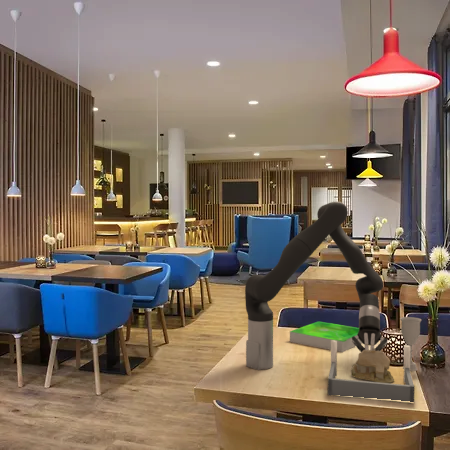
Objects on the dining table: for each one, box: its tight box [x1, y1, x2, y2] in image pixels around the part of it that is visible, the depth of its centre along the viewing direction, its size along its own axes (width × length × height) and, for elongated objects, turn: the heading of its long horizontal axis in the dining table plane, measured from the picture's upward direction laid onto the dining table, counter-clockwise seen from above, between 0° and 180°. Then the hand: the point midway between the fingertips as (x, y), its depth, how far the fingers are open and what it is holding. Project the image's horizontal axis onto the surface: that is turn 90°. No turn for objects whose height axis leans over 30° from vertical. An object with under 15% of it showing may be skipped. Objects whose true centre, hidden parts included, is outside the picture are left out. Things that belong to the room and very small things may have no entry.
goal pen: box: [327, 340, 415, 403], centre depth 160 cm, size 20×26×12 cm
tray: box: [289, 321, 363, 353], centre depth 217 cm, size 25×25×5 cm
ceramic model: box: [350, 347, 395, 383], centre depth 170 cm, size 14×11×10 cm
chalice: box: [399, 316, 422, 372], centre depth 179 cm, size 7×7×18 cm
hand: (369, 362), depth 174 cm, fingers closed
